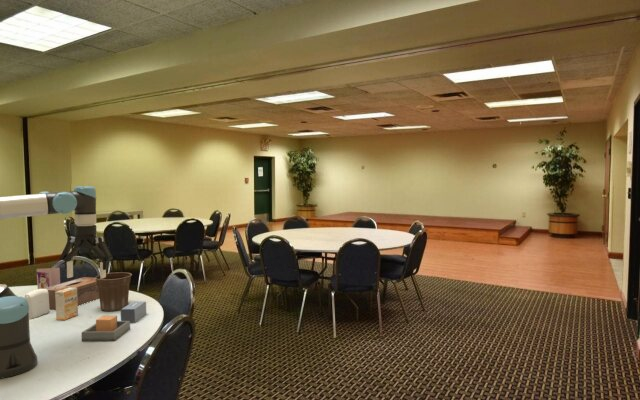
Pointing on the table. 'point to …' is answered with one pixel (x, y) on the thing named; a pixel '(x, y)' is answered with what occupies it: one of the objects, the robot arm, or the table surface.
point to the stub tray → (105, 332)
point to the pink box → (48, 277)
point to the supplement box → (66, 303)
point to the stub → (106, 323)
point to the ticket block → (133, 311)
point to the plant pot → (113, 290)
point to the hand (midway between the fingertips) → (86, 277)
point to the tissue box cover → (85, 290)
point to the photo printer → (38, 302)
